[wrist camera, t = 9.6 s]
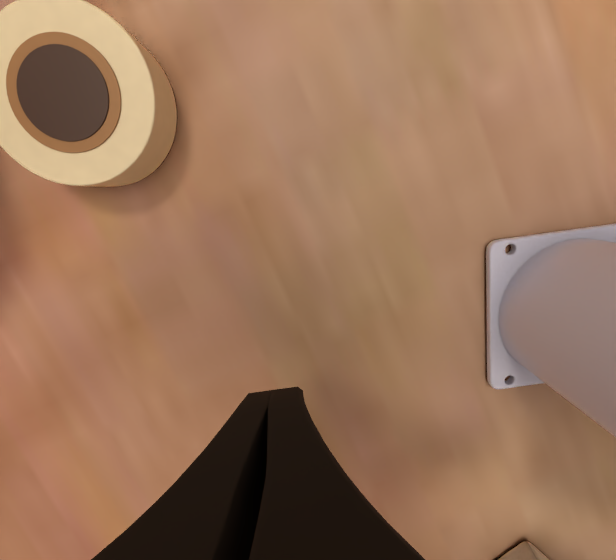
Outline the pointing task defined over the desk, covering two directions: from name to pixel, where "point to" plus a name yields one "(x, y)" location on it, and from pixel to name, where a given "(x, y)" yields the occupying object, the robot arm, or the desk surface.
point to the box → (524, 553)
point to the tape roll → (81, 96)
